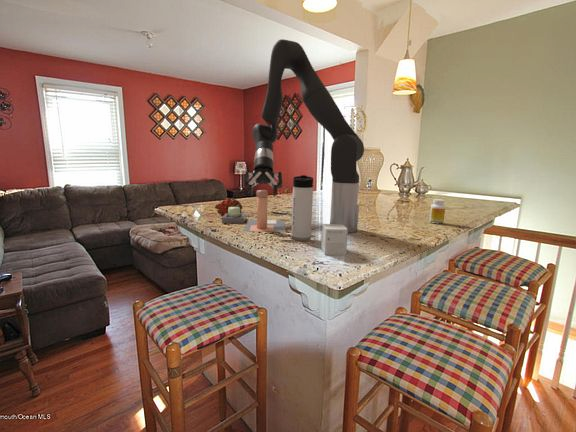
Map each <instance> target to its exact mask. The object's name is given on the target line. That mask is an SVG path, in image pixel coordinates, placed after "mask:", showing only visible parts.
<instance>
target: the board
mask: <svg viewBox="0 0 576 432" xmlns="http://www.w3.org/2000/svg"><path fill="white" fill-rule="evenodd" d="M244 232H252V233H253V232H254V233H255V232H261V233H286V227H285V220H281V219H280V220H279V219H267V229H257V219H247V222H246V224H245V226H244V228H243V233H244Z"/></svg>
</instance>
